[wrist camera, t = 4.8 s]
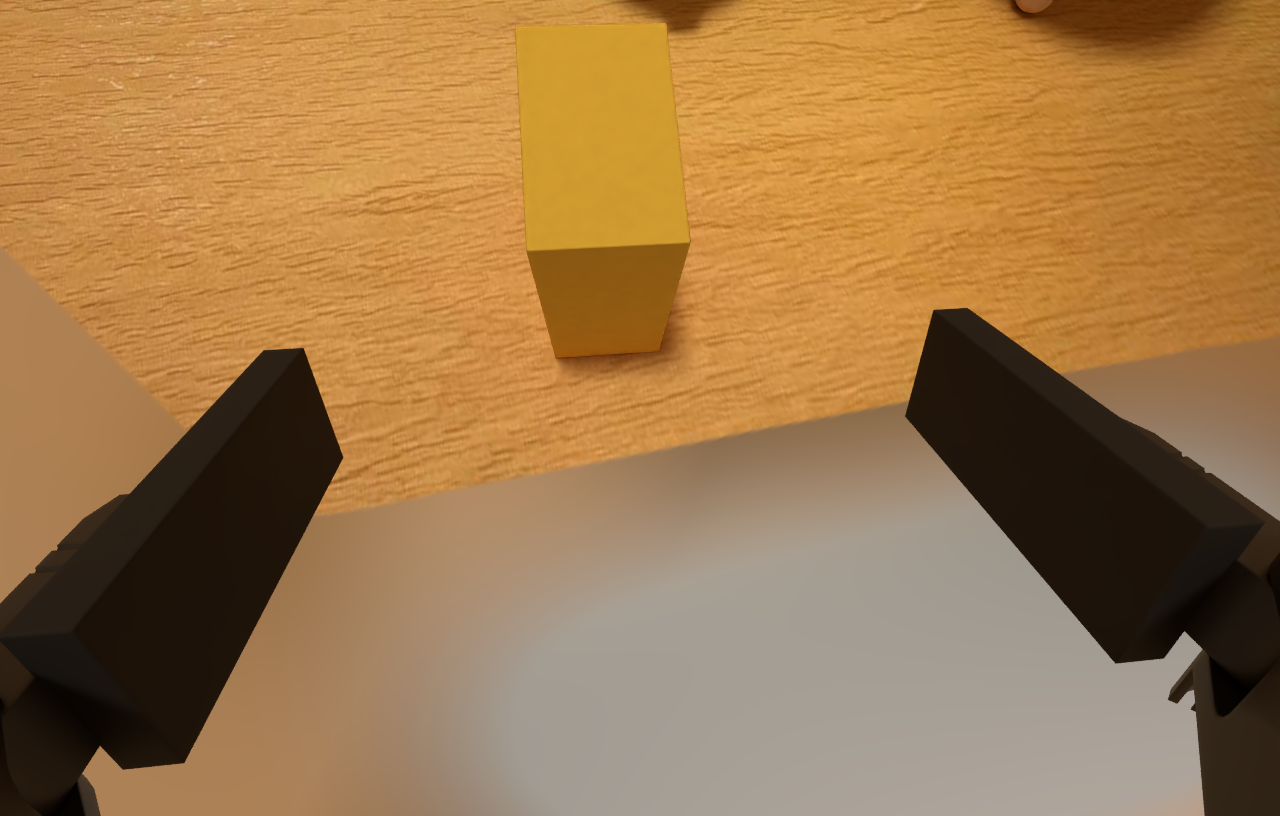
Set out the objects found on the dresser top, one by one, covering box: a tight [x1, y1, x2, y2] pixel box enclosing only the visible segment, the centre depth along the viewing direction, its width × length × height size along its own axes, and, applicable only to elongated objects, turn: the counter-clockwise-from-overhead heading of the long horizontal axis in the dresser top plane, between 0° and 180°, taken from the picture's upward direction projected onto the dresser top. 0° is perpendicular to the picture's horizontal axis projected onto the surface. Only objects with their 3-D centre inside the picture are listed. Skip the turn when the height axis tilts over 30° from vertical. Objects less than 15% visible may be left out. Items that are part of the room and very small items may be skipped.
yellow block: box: [515, 23, 691, 358], centre depth 24 cm, size 5×8×11 cm, turn 5°
